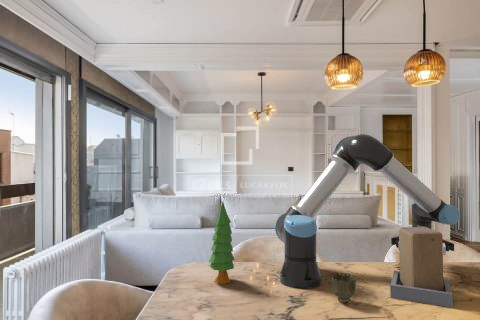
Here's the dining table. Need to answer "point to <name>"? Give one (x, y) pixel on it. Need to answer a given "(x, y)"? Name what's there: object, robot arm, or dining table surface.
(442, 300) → the gray square tray
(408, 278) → the wooden block
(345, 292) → the cup
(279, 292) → the dining table surface
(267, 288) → the dining table surface
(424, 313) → the dining table surface
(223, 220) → the decorative tree
